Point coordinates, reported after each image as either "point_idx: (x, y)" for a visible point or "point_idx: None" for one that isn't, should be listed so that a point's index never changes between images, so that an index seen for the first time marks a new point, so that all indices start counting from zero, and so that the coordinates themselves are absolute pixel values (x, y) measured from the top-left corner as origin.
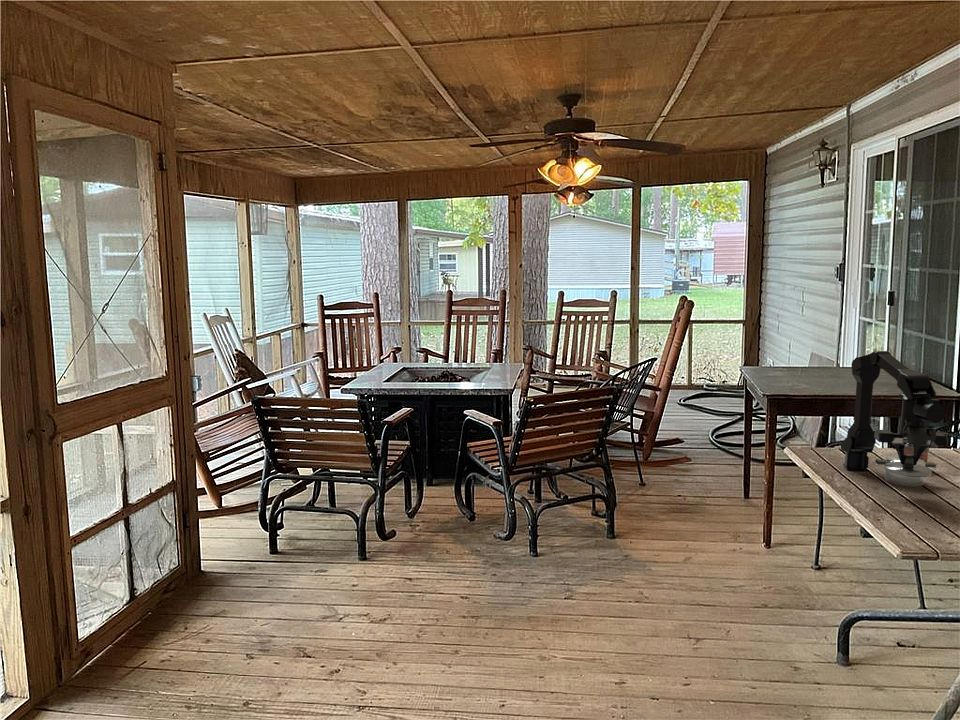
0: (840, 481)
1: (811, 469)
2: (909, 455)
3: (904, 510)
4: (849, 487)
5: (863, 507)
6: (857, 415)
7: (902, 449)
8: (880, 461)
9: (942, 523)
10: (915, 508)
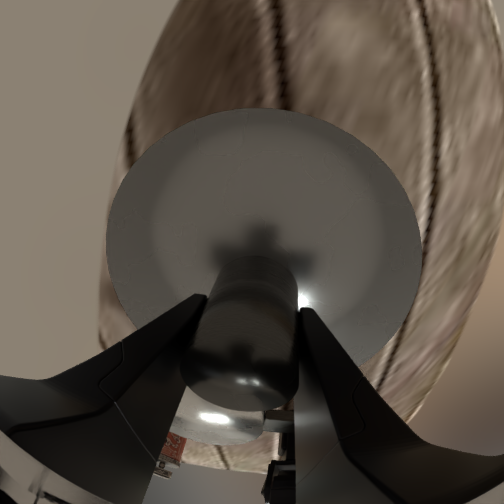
0: (424, 339)
1: (422, 401)
2: (235, 378)
3: (356, 22)
4: (437, 289)
5: (485, 75)
6: None
7: (362, 439)
8: (293, 421)
9: None
10: (297, 44)
